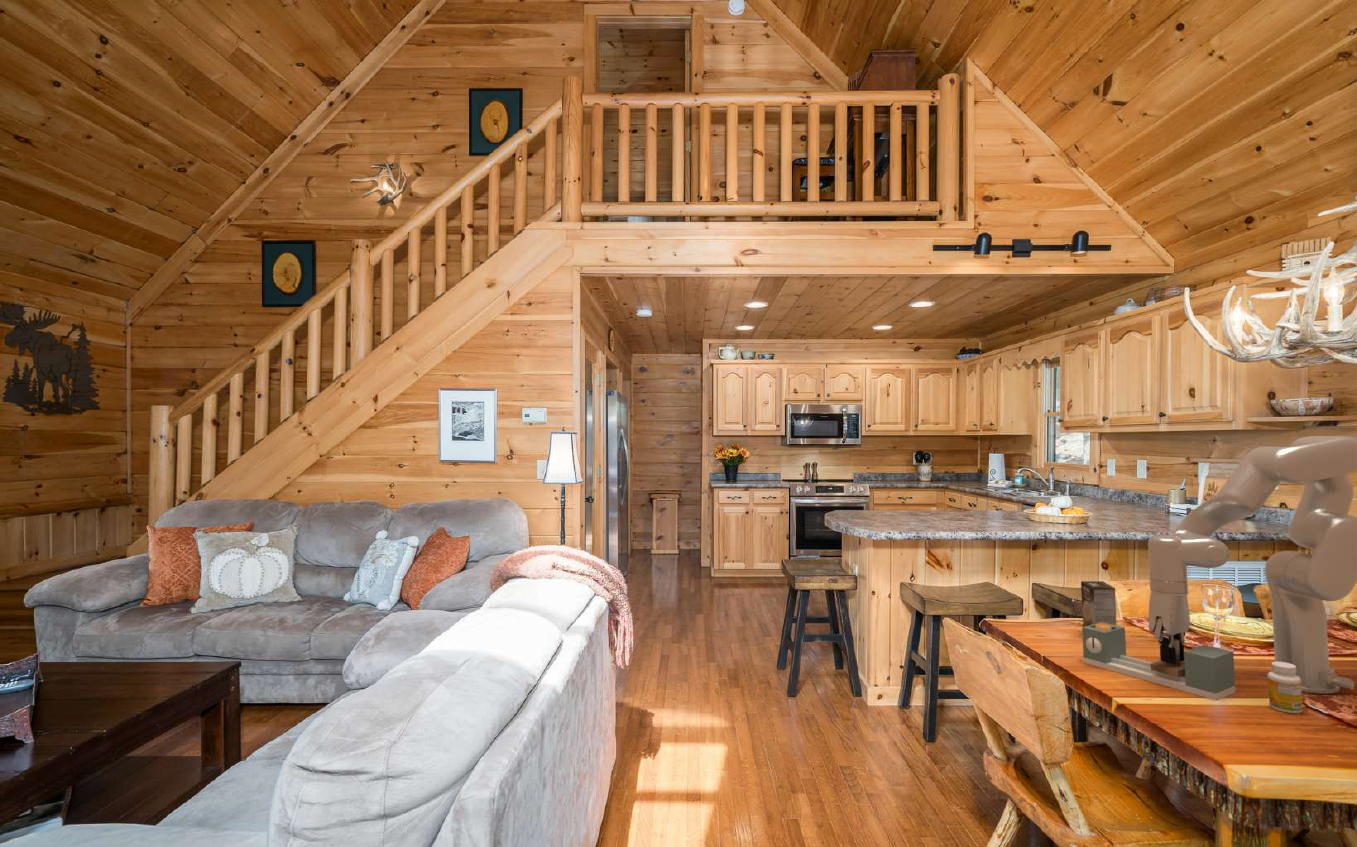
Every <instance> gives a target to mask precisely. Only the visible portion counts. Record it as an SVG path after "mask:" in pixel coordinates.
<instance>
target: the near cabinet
mask: <svg viewBox="0 0 1357 847" xmlns="http://www.w3.org/2000/svg"><path fill="white" fill-rule="evenodd" d="M1234 658H1235V657H1234V651H1233V650H1228V649H1225V648H1224V649H1223V648H1221V647H1220V648H1219V647H1215V646H1211V645H1206V644H1201V645H1198V646H1196V647H1192V648H1190V649H1188V650H1187V649H1186V650H1184V661H1183V662H1184V663H1185V682H1186V686H1190V687H1193V688H1197V689H1200V690H1204V691H1208V692H1211V693H1215V694H1216V693H1219V692H1221V691H1223V690H1226V689H1228V688H1231V687H1233V686H1235V687H1236V680H1235V678H1236V676H1235V659H1234Z"/></svg>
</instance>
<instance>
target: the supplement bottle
mask: <svg viewBox="0 0 1357 847" xmlns="http://www.w3.org/2000/svg"><path fill="white" fill-rule="evenodd" d="M1271 670H1272V672H1271V671H1269V672H1270V673H1269V672H1268V673H1269V674H1268V673H1267V674H1268V678H1267V682H1268V684H1267V685H1268V696H1269V697H1268V699H1269V706H1270V707H1271V708H1273V709H1274V710H1277V711H1279V712H1282V713H1289V714H1300V713H1303V710H1304V709H1303V691H1302V690H1301V679H1300V678H1299V677H1298V676H1297V675H1295V673H1296V666H1295V665H1293V664H1290V663H1285V662H1275V661H1272V662H1271Z"/></svg>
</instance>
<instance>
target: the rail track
mask: <svg viewBox="0 0 1357 847" xmlns="http://www.w3.org/2000/svg"><path fill="white" fill-rule="evenodd" d="M1151 663H1152V662H1150V661H1147V660H1144V659H1143V660H1142V659H1140V658H1136V657H1131V656H1128V655H1126V656H1124V655H1120V659H1116V658H1111V662H1110V663H1107V664H1106V663H1102V662H1099V661H1095V660H1092V659H1088V658H1084V657H1083V664H1086V665H1090V666H1093V667H1097V668H1101V669H1104V670H1108V671H1111V672H1115V673H1119V674H1122V675H1125V676H1129V677H1132V678H1137V679H1140V680H1142V681H1147V682H1149V683H1150V682H1151V683H1154V684H1157V685H1159V686H1160V685H1161V686H1164V687H1166V688H1167V687H1168V688H1172V689H1175V690H1179V691H1182V692H1185V693H1189V694H1193V695H1196V696H1200V697H1203V698H1206V699H1210V700H1213V701H1217V700H1220V699H1223V698H1225V697H1227V696H1229V695H1231V694H1234V693H1236V685H1235V686H1233V687H1231V688H1228V689H1226V690H1223V691H1221V692H1219V693H1216V694H1215V693H1211V692H1208V691H1204V690H1200V689H1197V688H1193V687H1190V686H1186V682H1185V675H1183V676H1180V677H1175V676H1172V675H1168V674H1164V673H1160V672H1157V671H1153V670H1151Z"/></svg>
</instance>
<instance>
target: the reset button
mask: <svg viewBox="0 0 1357 847" xmlns="http://www.w3.org/2000/svg"><path fill="white" fill-rule="evenodd" d="M1095 627H1096V629H1101V630H1105V631H1110V630H1111V625H1108V624H1095Z"/></svg>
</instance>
